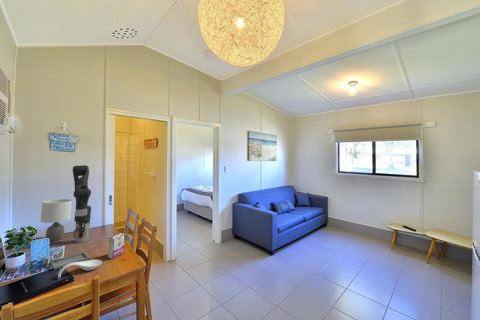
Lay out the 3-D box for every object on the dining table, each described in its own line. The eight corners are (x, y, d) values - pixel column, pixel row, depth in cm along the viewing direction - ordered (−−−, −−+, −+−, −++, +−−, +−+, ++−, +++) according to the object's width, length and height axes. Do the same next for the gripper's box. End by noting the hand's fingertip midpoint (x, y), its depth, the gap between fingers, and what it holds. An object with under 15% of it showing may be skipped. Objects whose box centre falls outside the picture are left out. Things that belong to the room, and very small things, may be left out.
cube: (73, 237, 148) (74, 229, 148) (83, 235, 152) (83, 227, 153) (75, 239, 144) (76, 231, 144) (85, 237, 149) (86, 229, 149)
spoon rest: (99, 262, 145) (99, 253, 146) (103, 268, 138) (104, 258, 138) (56, 275, 128) (57, 264, 128) (58, 282, 120) (59, 271, 120)
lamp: (73, 234, 197) (75, 198, 198) (62, 242, 178) (65, 202, 179) (47, 236, 190) (49, 199, 191) (33, 244, 170) (36, 203, 172)
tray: (50, 263, 140) (50, 260, 141) (84, 254, 156) (84, 251, 156) (53, 271, 132) (54, 267, 132) (89, 260, 147) (89, 257, 148)
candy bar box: (119, 252, 162) (120, 232, 163) (124, 253, 161) (125, 233, 162) (107, 258, 151) (108, 237, 152) (112, 259, 150) (114, 238, 151)
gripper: (72, 213, 150) (70, 235, 149) (77, 217, 142) (76, 240, 141) (84, 212, 156) (82, 233, 155) (90, 215, 148) (88, 237, 147)
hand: (79, 236), depth 148 cm, fingers closed on cube, 6 cm apart
